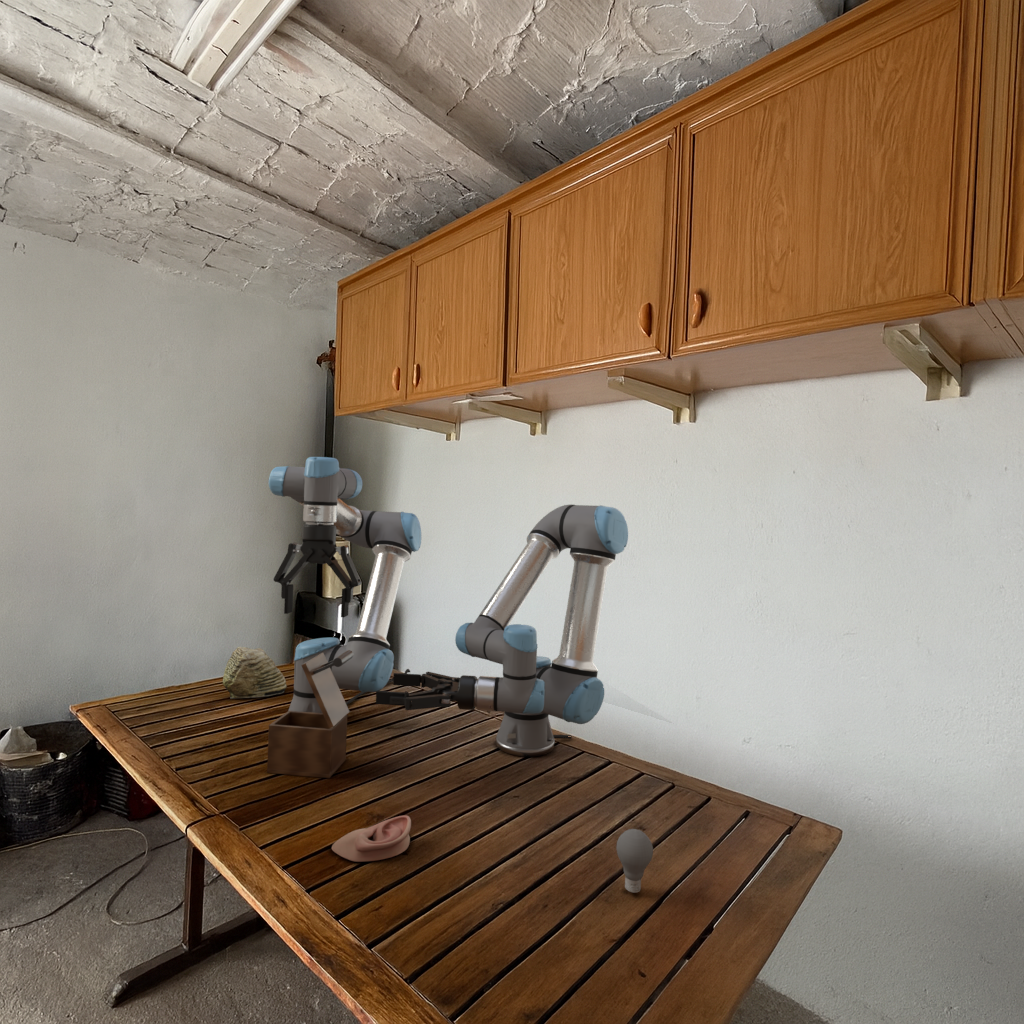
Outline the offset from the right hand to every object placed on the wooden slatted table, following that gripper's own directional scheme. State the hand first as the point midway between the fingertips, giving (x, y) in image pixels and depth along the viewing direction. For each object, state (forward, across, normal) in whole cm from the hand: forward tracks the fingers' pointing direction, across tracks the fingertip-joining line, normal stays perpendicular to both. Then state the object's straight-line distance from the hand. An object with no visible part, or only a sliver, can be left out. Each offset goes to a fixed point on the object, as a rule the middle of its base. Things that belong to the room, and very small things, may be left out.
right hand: (385, 687), depth 146 cm
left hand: (+17, +1, +16) cm, 23 cm away
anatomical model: (-7, -30, -19) cm, 37 cm away
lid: (+15, 0, -1) cm, 15 cm away
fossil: (+56, +46, -20) cm, 75 cm away
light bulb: (-54, -36, -20) cm, 68 cm away
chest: (+18, 0, -20) cm, 27 cm away
